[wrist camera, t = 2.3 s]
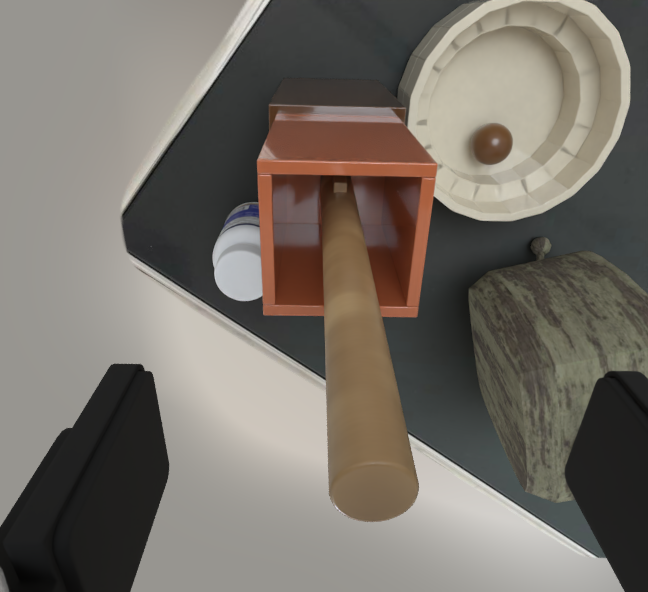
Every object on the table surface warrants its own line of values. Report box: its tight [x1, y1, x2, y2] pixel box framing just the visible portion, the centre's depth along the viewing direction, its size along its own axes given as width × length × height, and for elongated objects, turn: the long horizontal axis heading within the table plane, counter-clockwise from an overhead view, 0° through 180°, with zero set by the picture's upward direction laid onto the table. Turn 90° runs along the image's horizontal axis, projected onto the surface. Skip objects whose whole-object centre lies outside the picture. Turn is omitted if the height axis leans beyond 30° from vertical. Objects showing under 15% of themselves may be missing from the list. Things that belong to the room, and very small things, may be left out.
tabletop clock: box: [469, 237, 648, 503], centre depth 35 cm, size 14×9×25 cm, turn 14°
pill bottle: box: [212, 202, 262, 301], centre depth 38 cm, size 5×5×9 cm
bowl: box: [397, 0, 630, 221], centre depth 35 cm, size 14×14×6 cm
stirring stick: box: [321, 175, 419, 522], centre depth 17 cm, size 2×2×20 cm
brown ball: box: [470, 123, 513, 165], centre depth 37 cm, size 3×3×3 cm
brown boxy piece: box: [257, 78, 438, 317], centre depth 28 cm, size 7×7×23 cm
